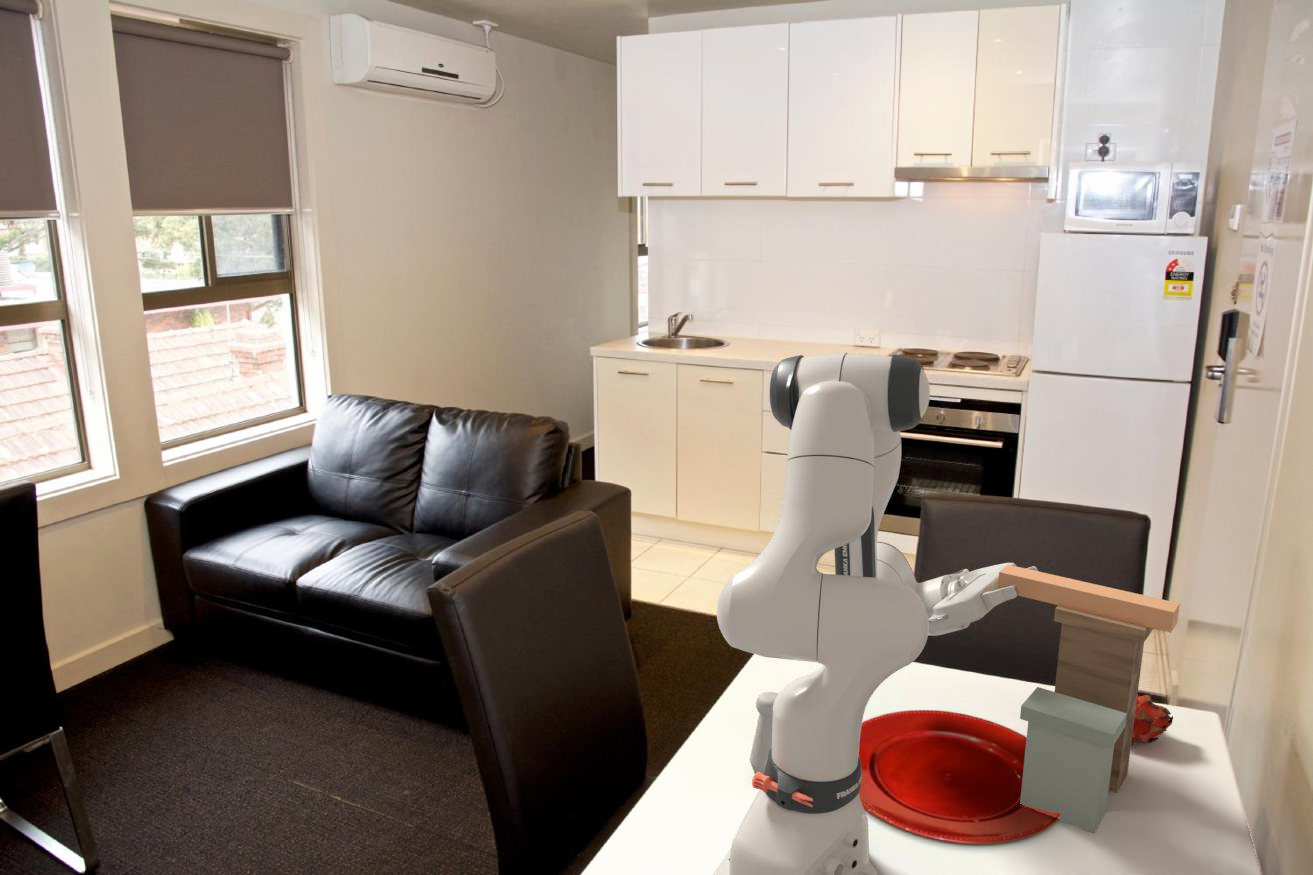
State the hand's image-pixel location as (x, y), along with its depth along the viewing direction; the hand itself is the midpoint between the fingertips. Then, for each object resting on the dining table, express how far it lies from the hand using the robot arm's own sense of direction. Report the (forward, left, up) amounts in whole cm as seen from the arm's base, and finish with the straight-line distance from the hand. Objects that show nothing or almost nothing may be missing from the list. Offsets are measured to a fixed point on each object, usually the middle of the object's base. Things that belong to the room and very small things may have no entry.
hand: (1026, 580), depth 145 cm
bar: (0, -8, -2) cm, 9 cm away
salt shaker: (-31, +26, -28) cm, 49 cm away
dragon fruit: (+15, -14, -28) cm, 35 cm away
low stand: (-12, -11, -28) cm, 32 cm away
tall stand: (0, -11, -28) cm, 30 cm away
